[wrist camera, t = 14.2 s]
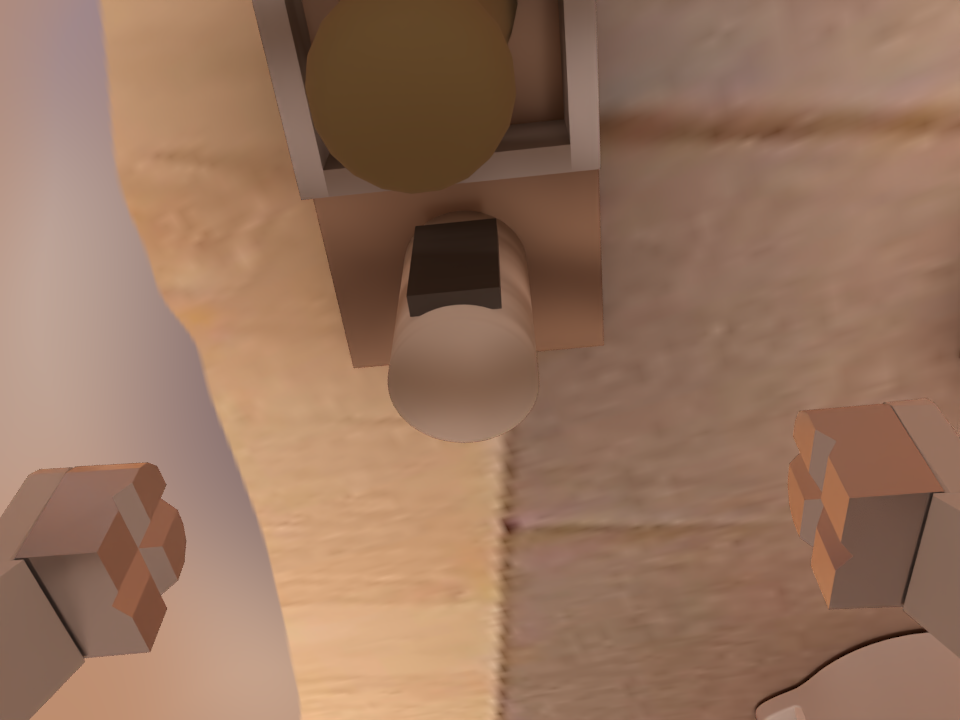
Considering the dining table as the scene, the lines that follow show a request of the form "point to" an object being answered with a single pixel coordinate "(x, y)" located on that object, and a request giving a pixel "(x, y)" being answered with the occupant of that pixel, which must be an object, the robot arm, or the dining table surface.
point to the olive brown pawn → (413, 88)
